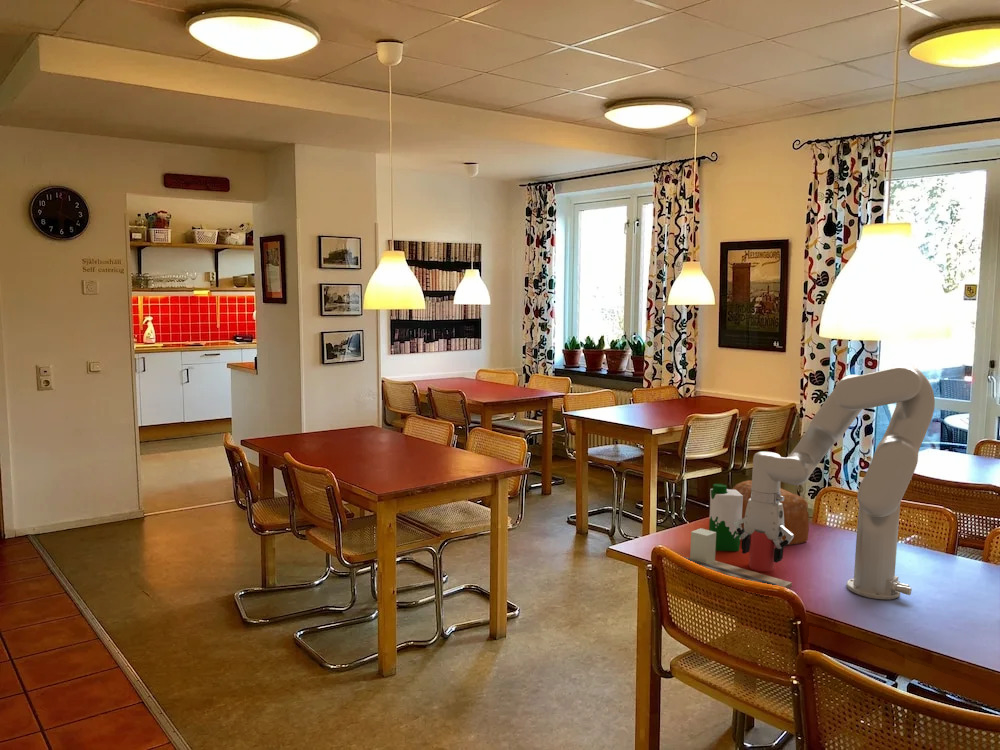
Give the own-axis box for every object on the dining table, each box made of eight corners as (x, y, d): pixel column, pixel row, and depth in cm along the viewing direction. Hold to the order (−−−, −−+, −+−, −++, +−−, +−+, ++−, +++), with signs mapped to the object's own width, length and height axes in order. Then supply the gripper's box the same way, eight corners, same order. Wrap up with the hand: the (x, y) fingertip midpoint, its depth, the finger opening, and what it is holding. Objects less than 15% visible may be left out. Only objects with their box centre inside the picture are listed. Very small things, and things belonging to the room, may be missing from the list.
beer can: (777, 570, 214) (780, 529, 212) (767, 576, 209) (770, 534, 208) (755, 564, 218) (757, 523, 217) (744, 570, 213) (747, 528, 212)
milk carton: (705, 545, 235) (708, 481, 233) (734, 545, 235) (738, 482, 233) (712, 554, 226) (715, 488, 224) (743, 555, 226) (746, 489, 224)
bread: (777, 547, 234) (780, 497, 233) (723, 523, 259) (725, 478, 257) (812, 542, 239) (815, 493, 238) (755, 519, 264) (758, 475, 262)
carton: (714, 563, 216) (716, 532, 215) (705, 567, 212) (707, 535, 212) (699, 558, 219) (700, 528, 219) (689, 562, 216) (691, 531, 215)
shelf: (791, 586, 202) (792, 575, 202) (774, 596, 195) (774, 584, 195) (698, 559, 222) (698, 549, 222) (679, 567, 215) (679, 556, 215)
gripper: (801, 500, 208) (797, 562, 210) (742, 488, 220) (739, 546, 222) (789, 505, 203) (785, 568, 204) (729, 492, 215) (726, 551, 217)
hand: (761, 556), depth 213 cm, fingers open, 9 cm apart
